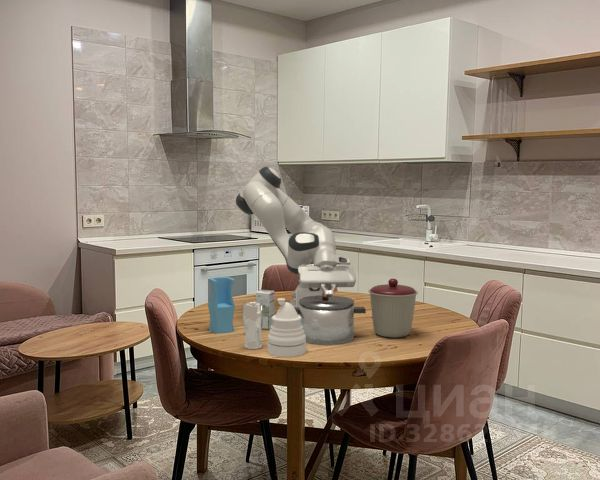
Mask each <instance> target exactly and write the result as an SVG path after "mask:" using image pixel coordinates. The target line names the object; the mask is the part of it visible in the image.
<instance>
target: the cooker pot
mask: <svg viewBox="0 0 600 480" xmlns="http://www.w3.org/2000/svg"><path fill="white" fill-rule="evenodd" d="M294 308H295V310H296V312H297V314H298V315H299V316H301V320H300V322H301V325H302V326H303V330H304V334H305V335H306V344H307V343H308V344H313V345H320V346H321V345H324V346H335V345H342V344H343V345H344V344H347V343H350V342H352V341H353V340H354V337H355V314H366V308H365V307H364V306H355V304H354V305H353V306H351V307H348V308H343V309H313V308H307V307H303V306H301V305H300V304H299V307H294Z"/></svg>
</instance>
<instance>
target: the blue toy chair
mask: <svg viewBox="0 0 600 480" xmlns="http://www.w3.org/2000/svg"><path fill="white" fill-rule="evenodd" d="M208 280H209V284H210V297H209V300H208V303H207V308H208V311H209V326H208V330H209V331H210V332H212V333H213V334H225V333H233V332H234V330H235V329H234V323H233V319H234V313H235V310H236V305H235V302H234V299H233V286H234V283H235V278H232V277H229V276H216V277H215V276H214V277H213V276H212V277H209V278H208Z"/></svg>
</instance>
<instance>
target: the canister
mask: <svg viewBox="0 0 600 480" xmlns="http://www.w3.org/2000/svg"><path fill="white" fill-rule="evenodd" d="M368 293H369V295H370V308H371V317H372V324H373V329H374V332H375V333H376V334H377V335H378V336H381V337H384V338H393V339H394V338H395V339H396V338H403V337H407V336H408V335H409V334H410V333H411V330H412V325H413V320H414V314H415V306H416V305H415V304H416V298H417V296H416V295H418V293H419V292H418V290H416V289H415V288H413V287H412V286H410V285H409V286H408V285H405V284H404V285H402V284H399V281H398V280H397V279H396V278H390V279H389V280H388V282H387V284H378V285H374V286H373V287H371V288H369V289H368Z"/></svg>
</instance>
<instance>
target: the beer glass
mask: <svg viewBox="0 0 600 480" xmlns="http://www.w3.org/2000/svg"><path fill="white" fill-rule="evenodd" d="M242 309H243V310H242V322H243V329H244V334H245V341H244V345H243V346H244V348H245V349H247V350H257V349H262V347H263V342H262V330H263V329H262V325H263V304H262V303H260V302H256V301H249V302H244V303H243V306H242Z"/></svg>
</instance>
